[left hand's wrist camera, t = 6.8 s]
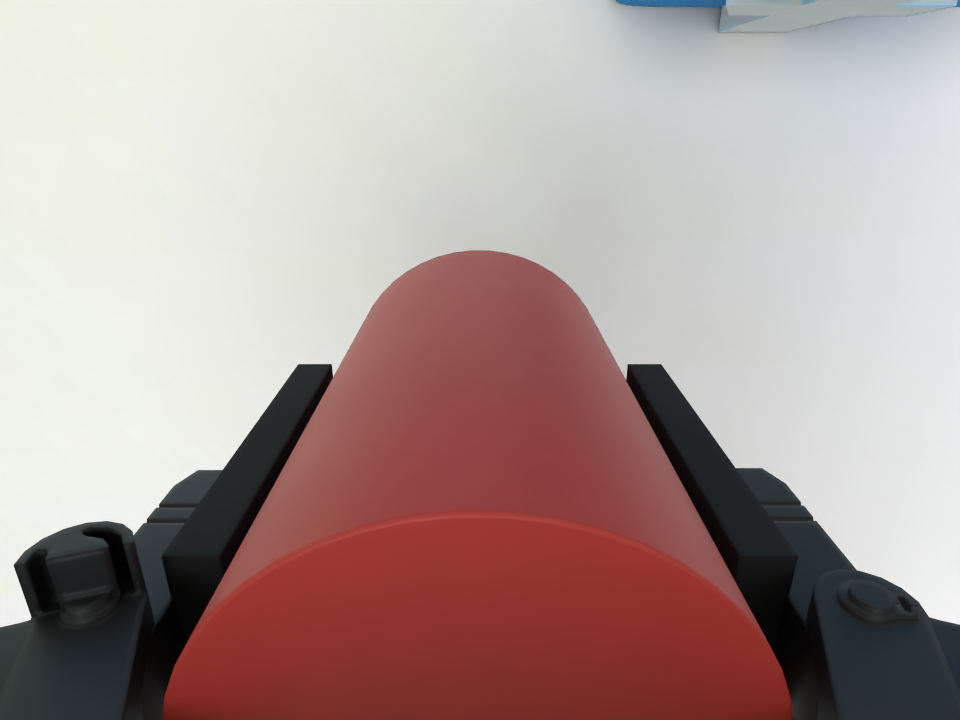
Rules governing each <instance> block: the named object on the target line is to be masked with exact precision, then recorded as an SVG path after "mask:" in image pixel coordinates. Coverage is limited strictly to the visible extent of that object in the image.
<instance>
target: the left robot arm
mask: <svg viewBox="0 0 960 720" xmlns="http://www.w3.org/2000/svg"><path fill="white" fill-rule="evenodd" d="M332 379H333V373H332V364H298V366H297V367H296V368H295V370H294V371H293V373H292V374H291V375H290V377H289V378H288V380H287V381H286V382H285V384H284V385H283V387H282V388H281V389H280V391H279V392H278V394H277V395H276V396H275V398H274V399H273V401H272V402H271V403H270V405H269V406H268V408H267V409H266V410H265V412H264V413H263V415H262V416H261V417H260V419H259V420H258V422H257V423H256V424H255V426H254V427H253V429H252V430H251V431H250V433H249V434H248V436H247V437H246V438H245V440H244V441H243V443H242V444H241V445H240V447H239V448H238V450H237V451H236V452H235V454H234V455H233V457H232V458H231V459H230V461H229V462H228V463H227V465H226V466H225V468H224V469H223V470H198V471H196V472H195V473H193V474H192V475H190V476H189V477H187V478H186V479H184V480H182V481H181V482H179V483H178V484H176V485H175V486H174V487H173V488H172V489H171V490H170V492H169V493H168V494H167V495H166V497H165V498H164V499H163V500H162V501H161V503H160V504H159V508H156V509H155V510H154V511H153V513H152V514H151V515H150V516H149V517H148V519H147V523H144V524H143V525H142V526H141V527H140V528H139V530H138V531H137V532H136V533H135V535H134V536H133V532H132V531H131V530H130V529H129V528H127V527H126V526H125V525H123V524H120V523H114V522H109V521H103V522H91V523H84V524H81V525H77V526H73V527H70V528H66V529H63V530H61V531H59V532H57V533H54V534H52V535H50V536H48V537H46V538H43V539H42V540H40V541H39V542H37V543H36V544H35V545H33V546H32V547H30V548H29V549H28V550H26V551H25V552H24V553H23V554H22V556H21V557H20V558H19V559H18V560H17V562H16V563H15V564H14V568H15V571H16V573H17V576H18V579H19V582H20V585H21V588H22V591H23V594H24V596H25V599H26V602H27V605H28V608H29V611H30V614H31V617H32V618H31V620H29V621H26V622H22V623H18V624H14V625H9V626H5V627H0V720H162V714H163V706H164V698H165V693H166V690H167V687H168V684H169V681H170V678H171V675H172V672H173V669H174V666H175V664H176V662H177V660H178V658H179V656H180V655H181V653H182V651H183V649H184V647H185V645H186V644H187V642H188V640H189V638H190V636H191V634H192V633H193V631H194V629H195V627H196V625H197V624H198V622H199V620H200V618H201V616H202V614H203V613H204V611H205V609H206V607H207V605H208V604H209V602H210V600H211V598H212V596H213V595H214V593H215V591H216V589H217V587H218V585H219V584H220V582H221V580H222V578H223V576H224V575H225V573H226V571H227V569H228V567H229V566H230V564H231V562H232V560H233V558H234V556H235V555H236V553H237V551H238V549H239V547H240V546H241V544H242V542H243V540H244V538H245V537H246V535H247V533H248V531H249V529H250V527H251V526H252V524H253V522H254V520H255V518H256V517H257V515H258V513H259V511H260V509H261V508H262V506H263V504H264V502H265V500H266V498H267V497H268V495H269V493H270V491H271V489H272V488H273V486H274V484H275V482H276V480H277V479H278V477H279V475H280V473H281V471H282V469H283V468H284V466H285V464H286V462H287V460H288V459H289V457H290V455H291V453H292V451H293V449H294V448H295V446H296V444H297V442H298V440H299V439H300V437H301V435H302V433H303V431H304V430H305V428H306V426H307V424H308V422H309V420H310V419H311V417H312V415H313V413H314V411H315V410H316V408H317V406H318V404H319V402H320V401H321V399H322V397H323V395H324V393H325V391H326V390H327V388H328V386H329V384H330V382H331V381H332ZM626 381H627V383H628V385H629V387H630V389H631V391H632V392H633V394H634V396H635V398H636V400H637V402H638V403H639V405H640V407H641V409H642V411H643V413H644V415H645V416H646V418H647V420H648V422H649V424H650V426H651V427H652V429H653V431H654V433H655V435H656V437H657V438H658V440H659V442H660V444H661V446H662V448H663V450H664V451H665V453H666V455H667V457H668V459H669V461H670V462H671V464H672V466H673V468H674V470H675V472H676V473H677V475H678V477H679V479H680V481H681V483H682V485H683V486H684V488H685V490H686V492H687V494H688V496H689V497H690V499H691V501H692V503H693V505H694V507H695V508H696V510H697V512H698V514H699V516H700V518H701V520H702V521H703V523H704V525H705V527H706V529H707V531H708V532H709V534H710V536H711V538H712V540H713V542H714V543H715V545H716V547H717V549H718V551H719V553H720V555H721V556H722V558H723V560H724V562H725V564H726V566H727V567H728V569H729V571H730V573H731V575H732V577H733V579H734V580H735V582H736V584H737V586H738V588H739V590H740V591H741V593H742V595H743V597H744V599H745V601H746V602H747V604H748V606H749V608H750V610H751V612H752V614H753V615H754V617H755V619H756V621H757V623H758V625H759V626H760V628H761V630H762V632H763V634H764V636H765V637H766V639H767V641H768V643H769V645H770V647H771V649H772V651H773V653H774V655H775V657H776V659H777V661H778V662H779V664H780V666H781V668H782V670H783V674H784V677H785V681H786V684H787V687H788V691H789V694H790V697H791V703H792V713H793V720H960V625H958V624H954V623H949V622H945V621H940V620H937V619H933V618H930V617H929V616H928V615H927V614H926V612H925V611H924V609H923V608H922V606H921V605H920V603H919V602H918V601H917V600H915V599H914V598H913V597H912V596H911V595H909V594H908V593H907V592H906V591H904V590H903V589H902V588H900V587H898V586H896V585H894V584H892V583H891V582H889V581H887V580H885V579H883V578H881V577H877V576H874V575H871V574H868V573H864V572H861V571H857V570H856V569H855V568H854V566H853V565H852V564H851V563H850V562H849V560H848V559H847V558H846V557H845V555H844V554H843V553H842V552H841V551H840V549H839V548H838V547H837V546H836V544H835V543H834V542H833V541H832V540H831V538H830V537H829V536H828V535H827V533H826V532H825V531H824V530H823V529H822V527H821V526H820V525H819V524H818V523H817V521H813V516H812V515H811V514H810V513H809V512H808V510H807V509H806V508H805V507H804V506H801V502H800V501H799V499H798V498H797V497H796V496H795V494H794V493H793V492H792V491H791V490H790V488H789V487H788V486H787V485H786V484H785V483H784V482H782V481H781V480H779V479H777V478H776V477H774V476H773V475H771V474H770V473H768V472H767V471H765V470H764V469H762V468H735V467H734V465H733V464H732V463H731V461H730V460H729V458H728V457H727V456H726V454H725V453H724V451H723V450H722V449H721V447H720V446H719V445H718V443H717V442H716V440H715V439H714V438H713V436H712V435H711V433H710V432H709V431H708V429H707V428H706V426H705V425H704V424H703V422H702V421H701V419H700V418H699V417H698V415H697V414H696V412H695V411H694V410H693V408H692V407H691V405H690V404H689V403H688V401H687V400H686V398H685V397H684V396H683V394H682V393H681V391H680V390H679V389H678V387H677V386H676V384H675V383H674V382H673V380H672V379H671V377H670V376H669V375H668V373H667V372H666V370H665V369H664V368H663V366H662V365H661V364H628V369H627V379H626Z"/></svg>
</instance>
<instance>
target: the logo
mask: <svg viewBox="0 0 960 720" xmlns="http://www.w3.org/2000/svg"><path fill="white" fill-rule="evenodd" d="M616 1H617V2H618V3H621V4H626V5H633V6H672V7H722V10H721V17H720V24H719V32H777V33H786V32H790V31H794V30H798V29H802V28H806V27H810V26H814V25H819V24H823V23H827V22H831V21H835V20H839V19H843V18H847V17H851V16H912V15H916V14H921V13H926V12H931V11H935V10H940V9H945V8H949V7H960V0H616Z"/></svg>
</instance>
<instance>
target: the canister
mask: <svg viewBox="0 0 960 720" xmlns="http://www.w3.org/2000/svg"><path fill="white" fill-rule="evenodd" d="M162 720H793V713H792V703H791V697H790V694H789V691H788V687H787V684H786V681H785V677H784V674H783V670H782V668H781V666H780V664H779V662H778V661H777V659H776V657H775V655H774V653H773V651H772V649H771V647H770V645H769V643H768V641H767V639H766V637H765V636H764V634H763V632H762V630H761V628H760V626H759V625H758V623H757V621H756V619H755V617H754V615H753V614H752V612H751V610H750V608H749V606H748V604H747V602H746V601H745V599H744V597H743V595H742V593H741V591H740V590H739V588H738V586H737V584H736V582H735V580H734V579H733V577H732V575H731V573H730V571H729V569H728V567H727V566H726V564H725V562H724V560H723V558H722V556H721V555H720V553H719V551H718V549H717V547H716V545H715V543H714V542H713V540H712V538H711V536H710V534H709V532H708V531H707V529H706V527H705V525H704V523H703V521H702V520H701V518H700V516H699V514H698V512H697V510H696V508H695V507H694V505H693V503H692V501H691V499H690V497H689V496H688V494H687V492H686V490H685V488H684V486H683V485H682V483H681V481H680V479H679V477H678V475H677V473H676V472H675V470H674V468H673V466H672V464H671V462H670V461H669V459H668V457H667V455H666V453H665V451H664V450H663V448H662V446H661V444H660V442H659V440H658V438H657V437H656V435H655V433H654V431H653V429H652V427H651V426H650V424H649V422H648V420H647V418H646V416H645V415H644V413H643V411H642V409H641V407H640V405H639V403H638V402H637V400H636V398H635V396H634V394H633V392H632V391H631V389H630V387H629V385H628V383H627V381H626V380H625V378H624V376H623V374H622V372H621V370H620V368H619V367H618V365H617V363H616V361H615V359H614V357H613V356H612V354H611V352H610V350H609V348H608V346H607V344H606V343H605V341H604V339H603V337H602V335H601V333H600V332H599V330H598V328H597V326H596V324H595V322H594V321H593V319H592V317H591V315H590V313H589V311H588V309H587V308H586V306H585V305H584V304H583V302H582V301H581V299H580V298H579V297H578V295H577V294H576V293H575V292H574V291H573V290H572V289H571V288H570V287H569V286H568V285H567V284H566V283H565V282H564V281H563V280H561V279H560V278H559V277H558V276H556V275H555V274H554V273H552V272H551V271H549V270H547V269H545V268H544V267H542V266H540V265H539V264H536V263H534V262H532V261H529V260H527V259H525V258H522V257H518V256H515V255H511V254H508V253H502V252H495V251H464V252H455V253H451V254H447V255H443V256H439V257H436V258H434V259H431V260H429V261H426V262H424V263H421V264H420V265H418V266H416V267H414V268H413V269H411V270H409V271H407V272H406V273H405V274H403V275H402V276H401V277H399V278H398V279H397V280H395V281H394V282H393V283H392V284H391V285H390V286H389V287H388V288H387V289H386V290H385V291H384V292H383V293H382V294H381V296H380V297H379V298H378V300H377V301H376V302H375V304H374V305H373V306H372V308H371V310H370V312H369V314H368V315H367V317H366V319H365V321H364V323H363V324H362V326H361V328H360V330H359V332H358V333H357V335H356V337H355V339H354V341H353V343H352V344H351V346H350V348H349V350H348V352H347V353H346V355H345V357H344V359H343V361H342V362H341V364H340V366H339V368H338V370H337V372H336V373H335V375H334V377H333V379H332V381H331V382H330V384H329V386H328V388H327V390H326V391H325V393H324V395H323V397H322V399H321V401H320V402H319V404H318V406H317V408H316V410H315V411H314V413H313V415H312V417H311V419H310V420H309V422H308V424H307V426H306V428H305V430H304V431H303V433H302V435H301V437H300V439H299V440H298V442H297V444H296V446H295V448H294V449H293V451H292V453H291V455H290V457H289V459H288V460H287V462H286V464H285V466H284V468H283V469H282V471H281V473H280V475H279V477H278V479H277V480H276V482H275V484H274V486H273V488H272V489H271V491H270V493H269V495H268V497H267V498H266V500H265V502H264V504H263V506H262V508H261V509H260V511H259V513H258V515H257V517H256V518H255V520H254V522H253V524H252V526H251V527H250V529H249V531H248V533H247V535H246V537H245V538H244V540H243V542H242V544H241V546H240V547H239V549H238V551H237V553H236V555H235V556H234V558H233V560H232V562H231V564H230V566H229V567H228V569H227V571H226V573H225V575H224V576H223V578H222V580H221V582H220V584H219V585H218V587H217V589H216V591H215V593H214V595H213V596H212V598H211V600H210V602H209V604H208V605H207V607H206V609H205V611H204V613H203V614H202V616H201V618H200V620H199V622H198V624H197V625H196V627H195V629H194V631H193V633H192V634H191V636H190V638H189V640H188V642H187V644H186V645H185V647H184V649H183V651H182V653H181V655H180V656H179V658H178V660H177V662H176V664H175V666H174V669H173V672H172V675H171V678H170V681H169V684H168V687H167V690H166V693H165V698H164V706H163V714H162Z"/></svg>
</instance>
